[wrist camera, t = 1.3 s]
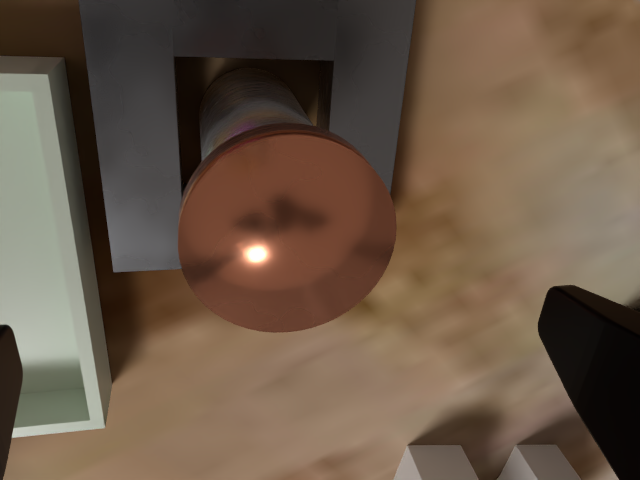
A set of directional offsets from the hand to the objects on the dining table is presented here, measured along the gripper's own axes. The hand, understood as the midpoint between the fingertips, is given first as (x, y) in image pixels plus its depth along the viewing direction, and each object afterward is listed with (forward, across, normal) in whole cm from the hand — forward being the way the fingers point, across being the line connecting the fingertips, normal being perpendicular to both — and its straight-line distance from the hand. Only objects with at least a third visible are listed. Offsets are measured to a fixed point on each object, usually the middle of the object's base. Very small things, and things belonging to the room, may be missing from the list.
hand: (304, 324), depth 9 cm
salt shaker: (+13, 0, 0) cm, 13 cm away
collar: (+13, 0, 0) cm, 13 cm away
